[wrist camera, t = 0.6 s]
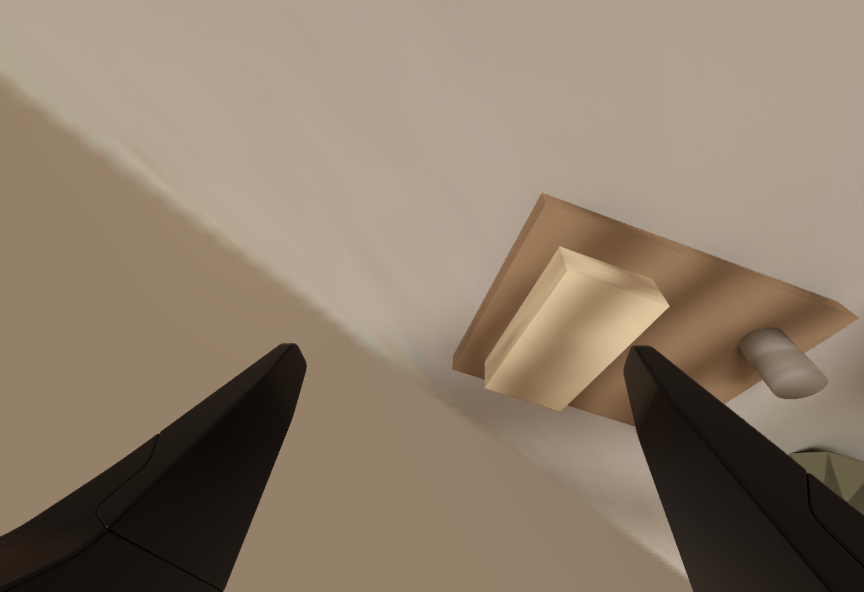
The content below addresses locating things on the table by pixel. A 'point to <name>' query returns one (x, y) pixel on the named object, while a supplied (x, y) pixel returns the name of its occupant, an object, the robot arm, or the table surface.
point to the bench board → (668, 311)
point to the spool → (836, 474)
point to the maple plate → (571, 329)
